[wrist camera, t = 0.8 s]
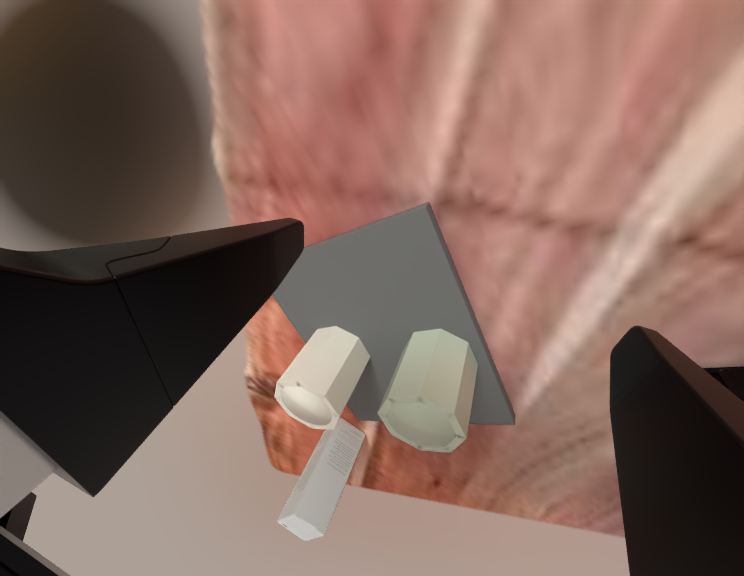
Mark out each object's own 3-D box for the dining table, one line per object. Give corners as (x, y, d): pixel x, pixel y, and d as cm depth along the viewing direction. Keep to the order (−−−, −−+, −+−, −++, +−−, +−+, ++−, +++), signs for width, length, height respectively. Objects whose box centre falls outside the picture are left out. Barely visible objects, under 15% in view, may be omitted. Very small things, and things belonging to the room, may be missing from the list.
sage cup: (484, 379, 28) (474, 454, 23) (421, 381, 31) (400, 448, 26) (461, 325, 26) (444, 395, 20) (396, 334, 29) (367, 397, 24)
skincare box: (348, 447, 46) (305, 542, 37) (324, 430, 46) (274, 521, 37) (368, 434, 42) (325, 537, 33) (341, 415, 42) (291, 514, 33)
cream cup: (378, 369, 33) (349, 430, 27) (332, 372, 36) (299, 428, 30) (350, 323, 30) (313, 380, 25) (304, 331, 33) (263, 383, 28)
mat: (515, 415, 30) (515, 424, 30) (361, 413, 40) (358, 420, 39) (429, 202, 22) (425, 207, 21) (260, 263, 32) (254, 268, 31)
